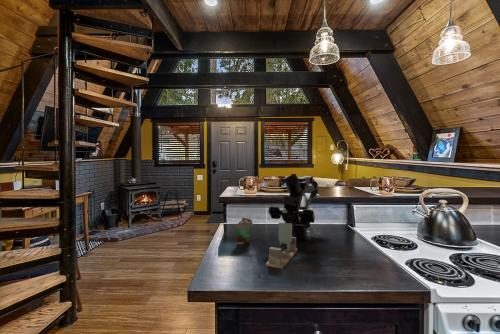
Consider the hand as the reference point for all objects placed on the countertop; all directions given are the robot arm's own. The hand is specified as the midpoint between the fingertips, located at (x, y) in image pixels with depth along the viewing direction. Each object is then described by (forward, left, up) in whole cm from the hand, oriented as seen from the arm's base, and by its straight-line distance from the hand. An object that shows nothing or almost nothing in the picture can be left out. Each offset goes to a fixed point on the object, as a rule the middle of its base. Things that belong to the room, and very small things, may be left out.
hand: (287, 231), depth 108 cm
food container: (+7, -20, -9) cm, 23 cm away
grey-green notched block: (+2, +1, -6) cm, 7 cm away
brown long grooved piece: (+4, +3, -9) cm, 10 cm away
